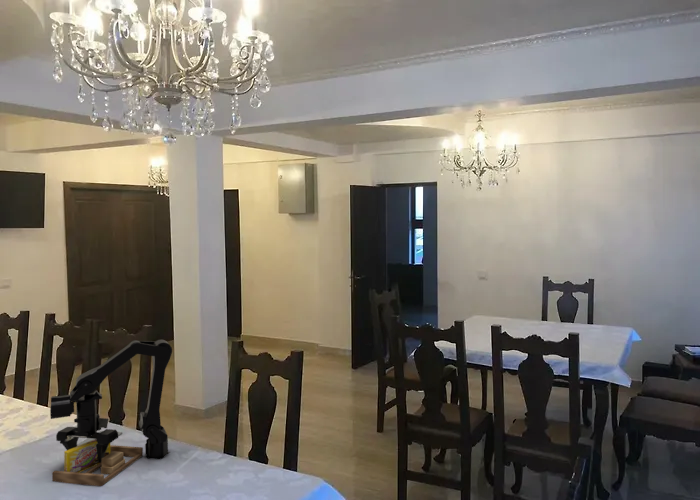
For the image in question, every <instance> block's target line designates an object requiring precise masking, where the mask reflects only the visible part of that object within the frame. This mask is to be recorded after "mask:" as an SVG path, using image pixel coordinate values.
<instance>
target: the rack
mask: <svg viewBox="0 0 700 500" xmlns="http://www.w3.org/2000/svg"><path fill="white" fill-rule="evenodd" d="M143 449H144V447H143V446H142V447H141V446H128V445H116V444H115V445H113V444H110V453H112V452H113V451H118V452H123V453H124V457H128V458H129V457H130V459H129V460H128V461H125V464H124V465H122V466H121V467H119V468H118V469H117V470H115V471H114V472H112V473H111V474H110V475H108V474H107V476H105V474H101V473H95V472H96V471H98V470H99V469H101V467H102V462H101V463H99V464H98V465H95V466H93V467H91V468H89V470H87V471H85V472H79V473H78V472H65V471H64V470H54V471H52V472H51V477H52V478H51V479H52V482H56V483H57V482H58V483H63V484H64V483H66V484H73V485H83V486H85V485H86V486H95V487H96V486H97V487H103V486H104V485H105V484H107V483H108V482H109V481H111V480H112V479H113V478H115V477H116V476H117V475H118V474H121V473H122V472H123V471H124V470H125V469H127V468H128V467H129V466H131V465H133V463H135V462H136V461H138V460H139V459H141V458H142V457H143V453H144V452H143V451H144V450H143Z"/></svg>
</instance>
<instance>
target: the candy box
mask: <svg viewBox="0 0 700 500" xmlns="http://www.w3.org/2000/svg"><path fill="white" fill-rule="evenodd" d="M96 444H98V442H97V441H96V439H94V440H92V441H89V442H87V443H84V444H82V445H79V446H77V447H74V448H72V449H69V450H64V451H63V452H64V454H63V456H64V458H63V459H64V460H63V462H64V464H63V465H64V466H63V467H64V468H63V469H64V470H63V471H65V472H78V473H83V472H84V471H86V470H88V469H89V470H90V469H92V468H93V467H95V466H96V465H98V464H99V460H98V455H97V449H96ZM110 445H111V443H109V445H108V447H107V449H106V452H105V455H104V457H105V456H107V455H108V454H110Z"/></svg>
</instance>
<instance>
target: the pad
mask: <svg viewBox="0 0 700 500" xmlns="http://www.w3.org/2000/svg"><path fill="white" fill-rule="evenodd" d="M102 431H103V430H99V431H98V432H99V433H101V432H102ZM117 432H118V437H120V436H121V435H122V434H123V431H117ZM92 440H94V439H93V438H85V439H84V440H83V441H81V442H79V443H77V446H79V445H82V444H84V443H87V442H89V441H92Z"/></svg>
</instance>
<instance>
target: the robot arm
mask: <svg viewBox="0 0 700 500" xmlns="http://www.w3.org/2000/svg"><path fill="white" fill-rule="evenodd" d="M172 347H173V346H171V344H169V342H168V341H166V339H165V340H164V339H157V340H155V341H152V340H135V339H134V340H132V341H131V342H129V343H128V344H127V345H126V346H125V347H124V348H122V349H121V350H119V351H117V353H115V354H114V355H112V356H111V357H110V358H108V359H107V360H106V361H104V362H103V363H102V364H100V365H98V366H96V367H94V368H91V369H90V370H87V371H86V372H83V373H81V374H80V375H78V376H77V378H76V381H75V385H74V387H73V388H72V389H71V390H70V392H69V394H65V395H53V396H51V397H50V410H49V412H50V419H51V420H54V419H55V420H56V419H61V418H67V417H71V415H73V413H75V407H76V418H74V420H73V422H74V423H76V426H75V427H74V426H66V427H64V428H63V429H60V430H58V431H57V433H56V435H55V438H56V440H55V441H56V442H59V443H60V444H62V446H63V447H64V449H65V451H67V450H69V449H72V448H74V447H77V444H78V440H79V439H81V438H82V439H87V438H93V439H96V441H97V442H98V444H96V449H97V455H98V460H99V463H101V462H102V458H103V457H104V455H105V452H106V449H107V447H108V445H109V443H110V444H111V443H112V442H114V441H115V440H117V439H119V436H118V432H119V431H118V430H117V429H110V428H109V429H108V424H109V418H107V417H106V418H104V417H101V416H100V414H98V413H97V400H101V399H103V396H102V393H100V392H98V390H96V389H98V387H99V386H100V385H101V384H102V383H103V382H104V380H105V379H106V378H107V377H108V376H110V374H112V373H114V372H115V371H116V370H118V369H119V368H121V366H123V365H125V364H126V363H127V362H128V361H129V360H131V359H133V357H135V356H136V355H144V356H149V357H151V358H152V359H151V360H152V372H151V379H150V386H149V393H148V399H147V400H148V401H147V407H146V409H145V411H140V419H139V422H138V425H139V428H140V430H141V432H142V434H143V436H144V437H145V438H147V439H146V440H145V441H146V442H145V444H144V447H145V448H144V449H145V456H144V457H143V459H149V460H151V459H152V460H162V459H164V458H165V457H166V456H168V455H170V453H171V451H169V437H168V433H167V431H166V429H165V427H164V426H163V425H162V424H161V423H162V422H161V412H160V410H161V409H160V407H161V403H162V394H163V388H164V381H165V375H166V373H165V372H166V369H167V367H168V365H169V362H170V360H171V356H172V353H173V348H172ZM75 404H76V406H75ZM102 429H104V430H102ZM100 431H102V432H101V433H99V432H100Z"/></svg>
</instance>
